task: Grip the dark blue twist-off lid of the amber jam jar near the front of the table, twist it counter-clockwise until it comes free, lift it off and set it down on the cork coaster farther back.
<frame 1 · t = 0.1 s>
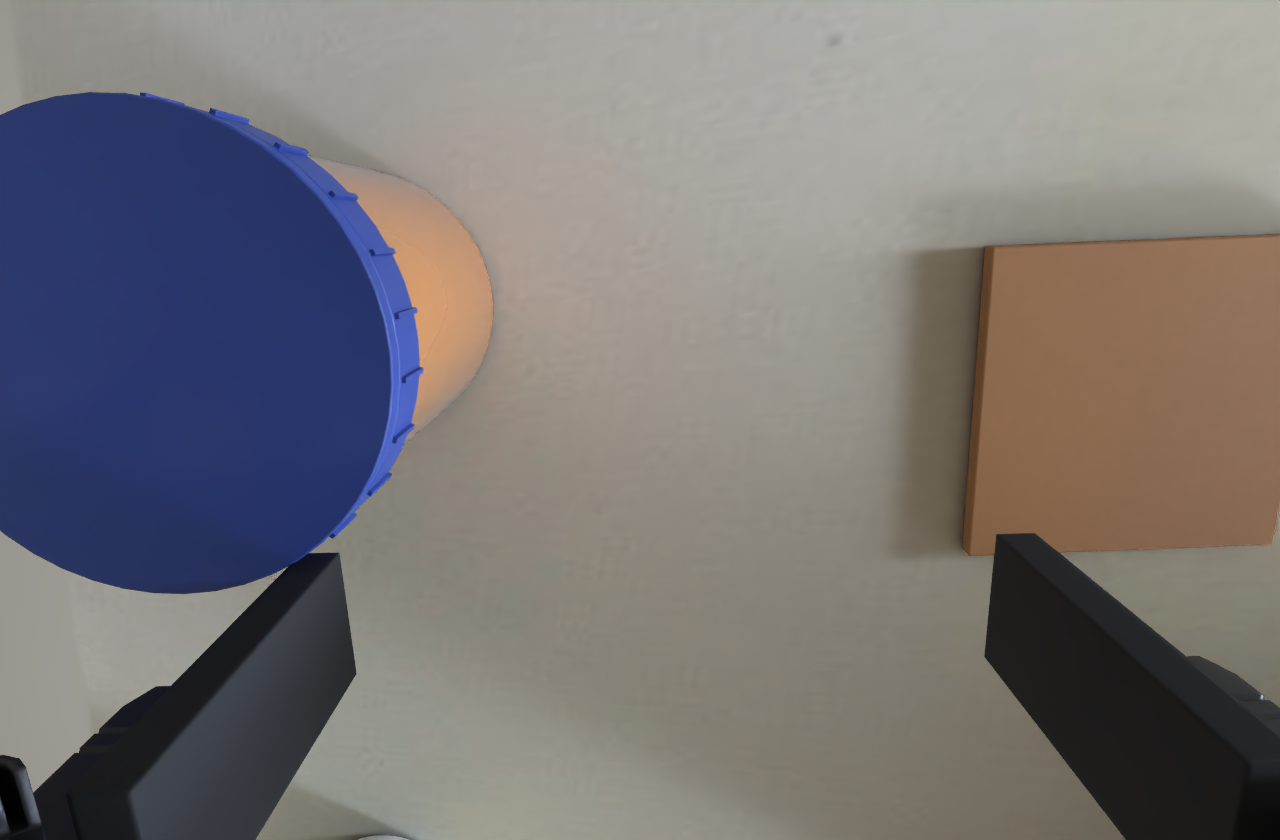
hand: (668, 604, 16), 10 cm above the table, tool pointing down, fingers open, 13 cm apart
coaster: (1128, 399, 25), on the table
lid: (154, 358, 14), point 11 cm above the table, screwed on, not yet turned, touching gripper
jar: (363, 304, 24), on the table
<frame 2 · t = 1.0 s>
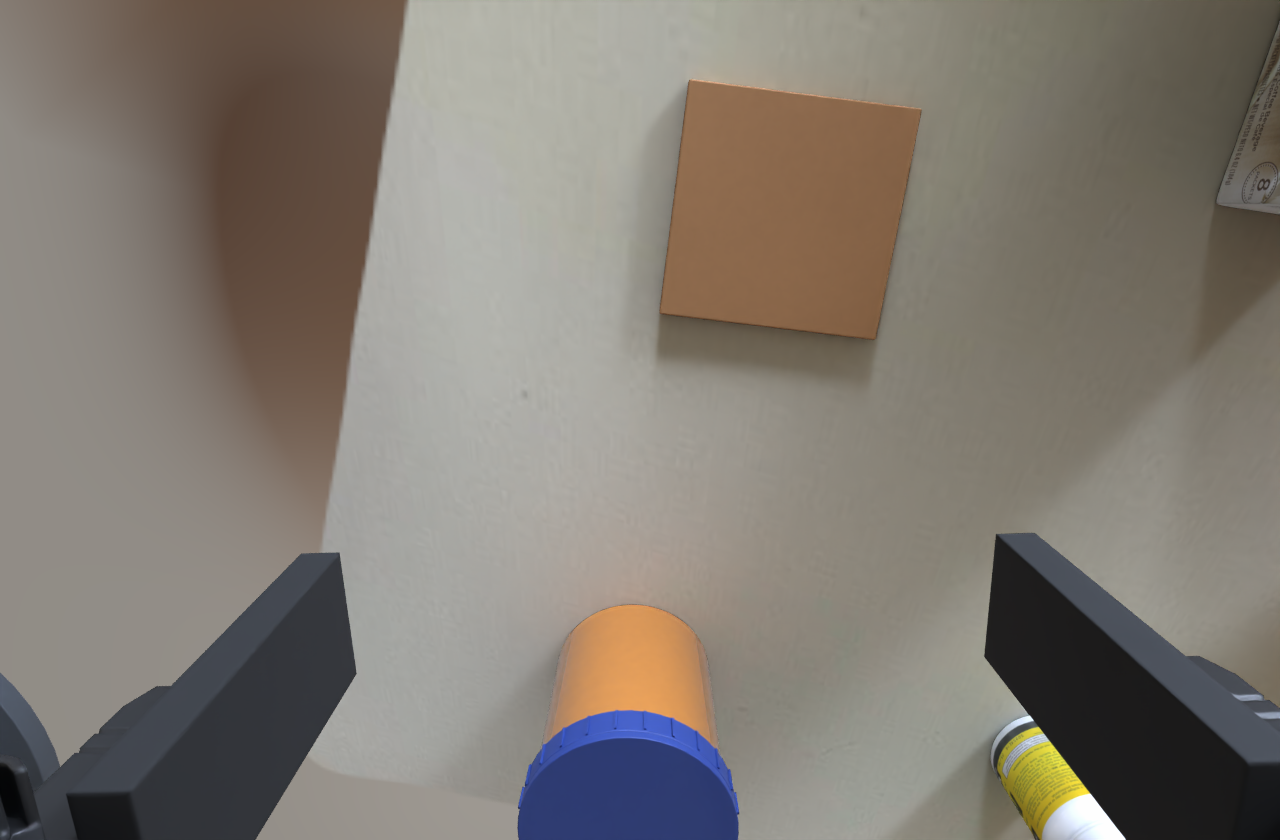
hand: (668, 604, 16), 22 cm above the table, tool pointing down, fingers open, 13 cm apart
coaster: (784, 214, 35), on the table
lid: (628, 824, 31), point 11 cm above the table, turned 6° so far, risen 0.0 cm, still on its thread
jar: (633, 672, 41), on the table
supplement bottle: (1030, 747, 42), on the table
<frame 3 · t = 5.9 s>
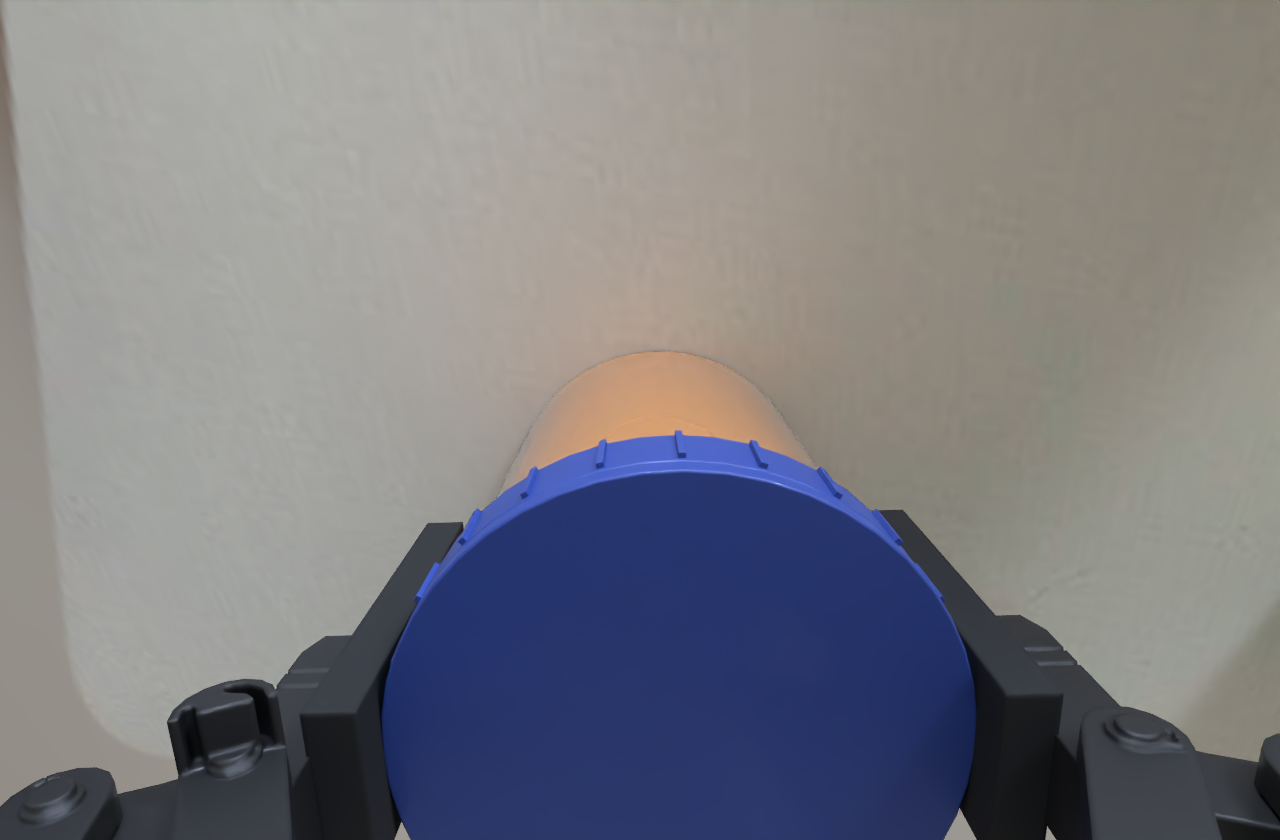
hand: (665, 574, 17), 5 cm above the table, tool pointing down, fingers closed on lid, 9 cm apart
lid: (677, 734, 12), point 11 cm above the table, turned 6° so far, risen 0.0 cm, still on its thread, touching gripper
jar: (659, 491, 22), on the table
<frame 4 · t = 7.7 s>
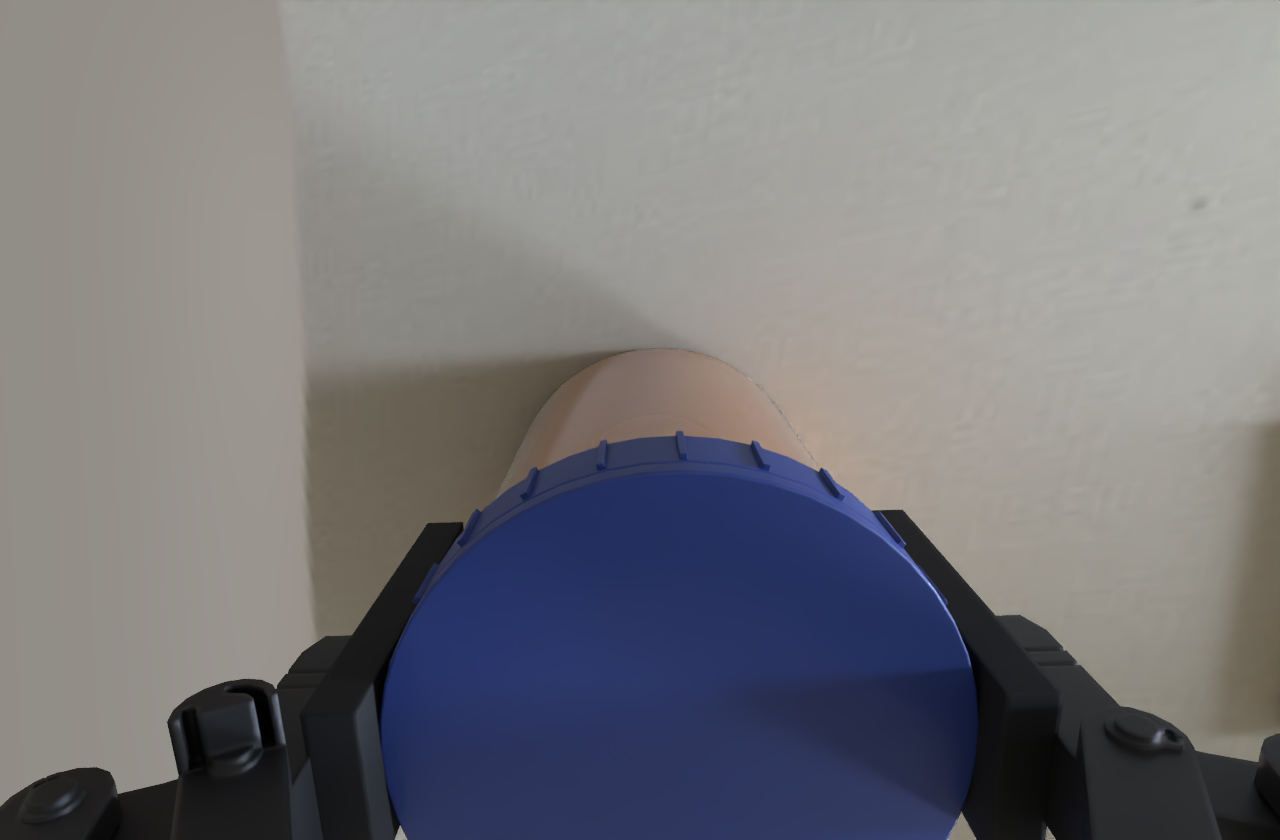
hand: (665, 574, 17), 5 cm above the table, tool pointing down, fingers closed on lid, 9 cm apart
lid: (678, 736, 12), point 11 cm above the table, turned 94° so far, risen 0.3 cm, still on its thread, touching gripper
jar: (659, 487, 22), on the table
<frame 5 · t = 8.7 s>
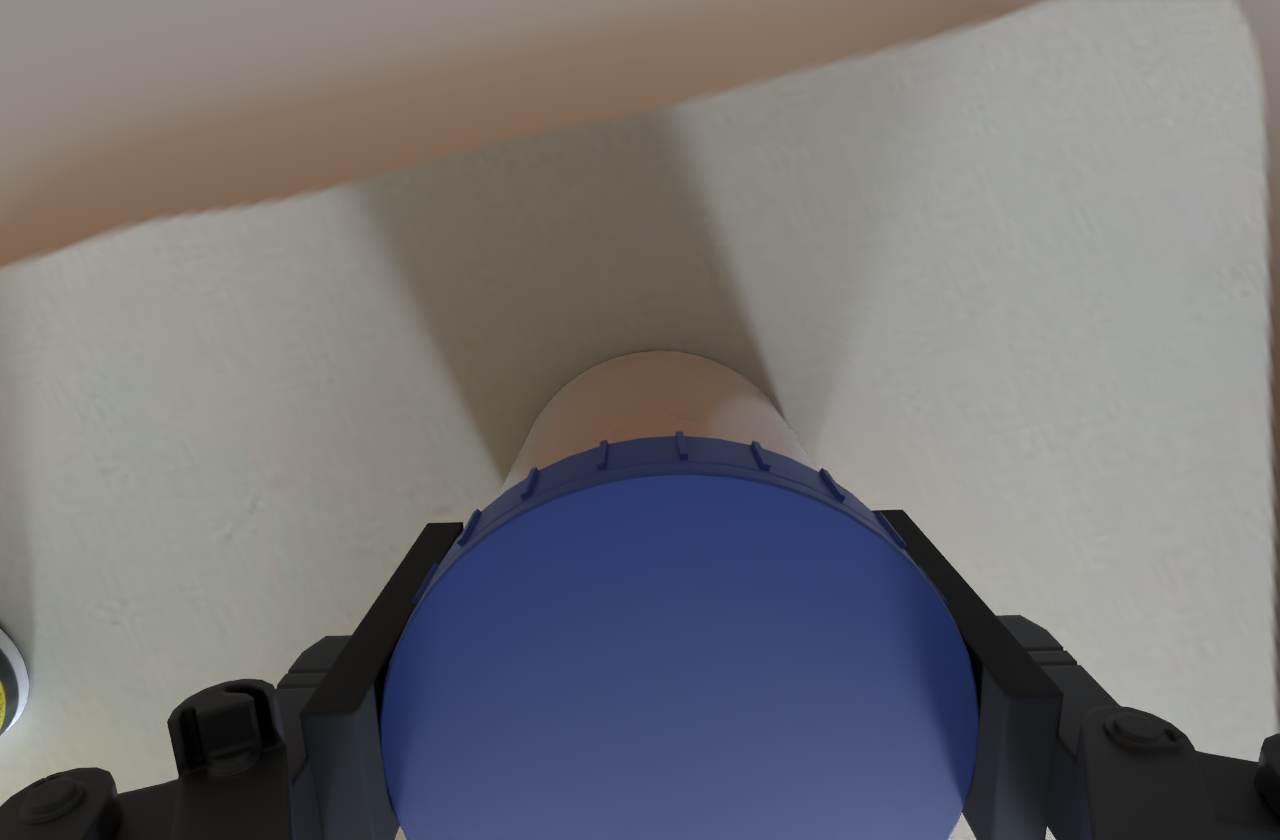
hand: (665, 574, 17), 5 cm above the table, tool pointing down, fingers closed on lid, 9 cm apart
lid: (678, 737, 12), point 11 cm above the table, off its thread, touching gripper
jar: (659, 489, 22), on the table
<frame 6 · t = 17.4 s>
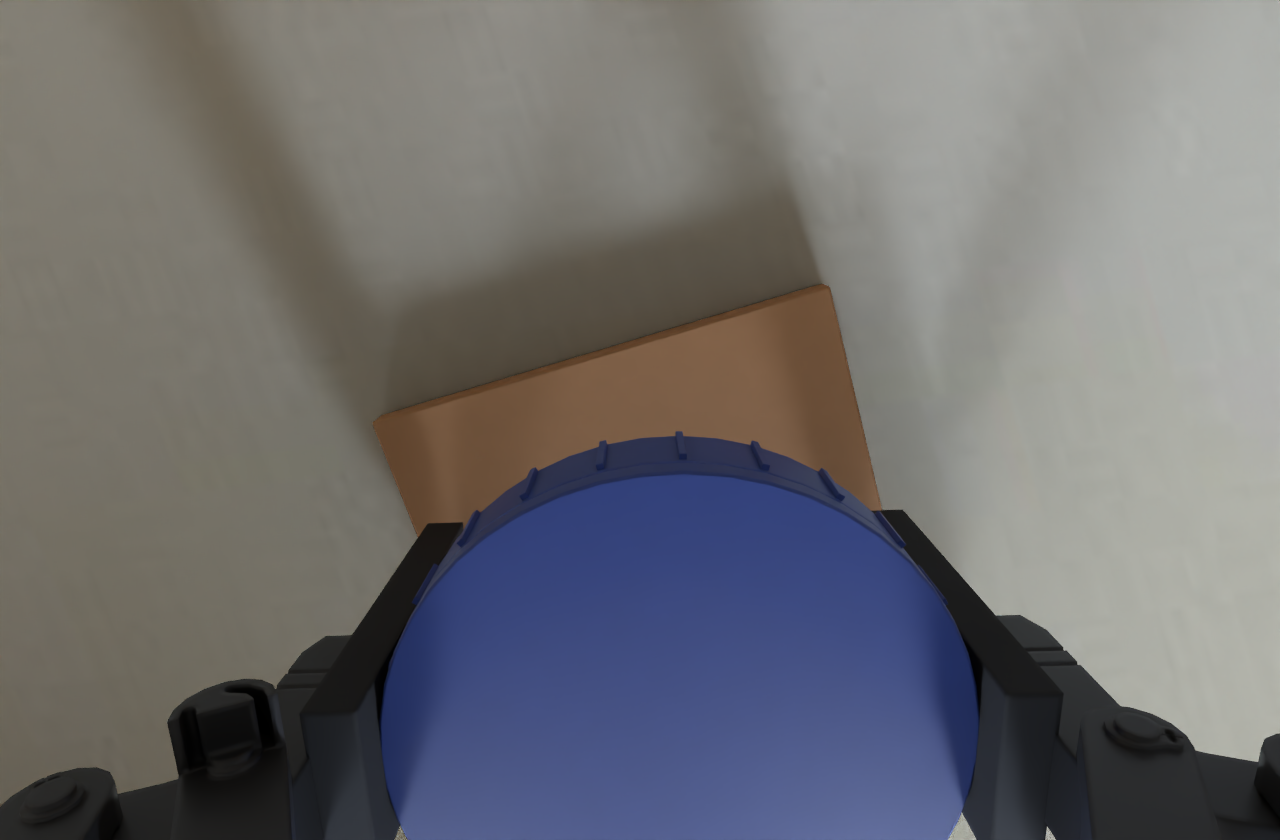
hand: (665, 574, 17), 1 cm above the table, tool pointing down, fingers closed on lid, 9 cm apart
coaster: (661, 555, 18), on the table
lid: (678, 737, 12), point 7 cm above the table, off its thread, touching gripper
when the fingers open (3 cm above the table, at t = 29.3 s): lid drops 6 cm, resting on coaster.
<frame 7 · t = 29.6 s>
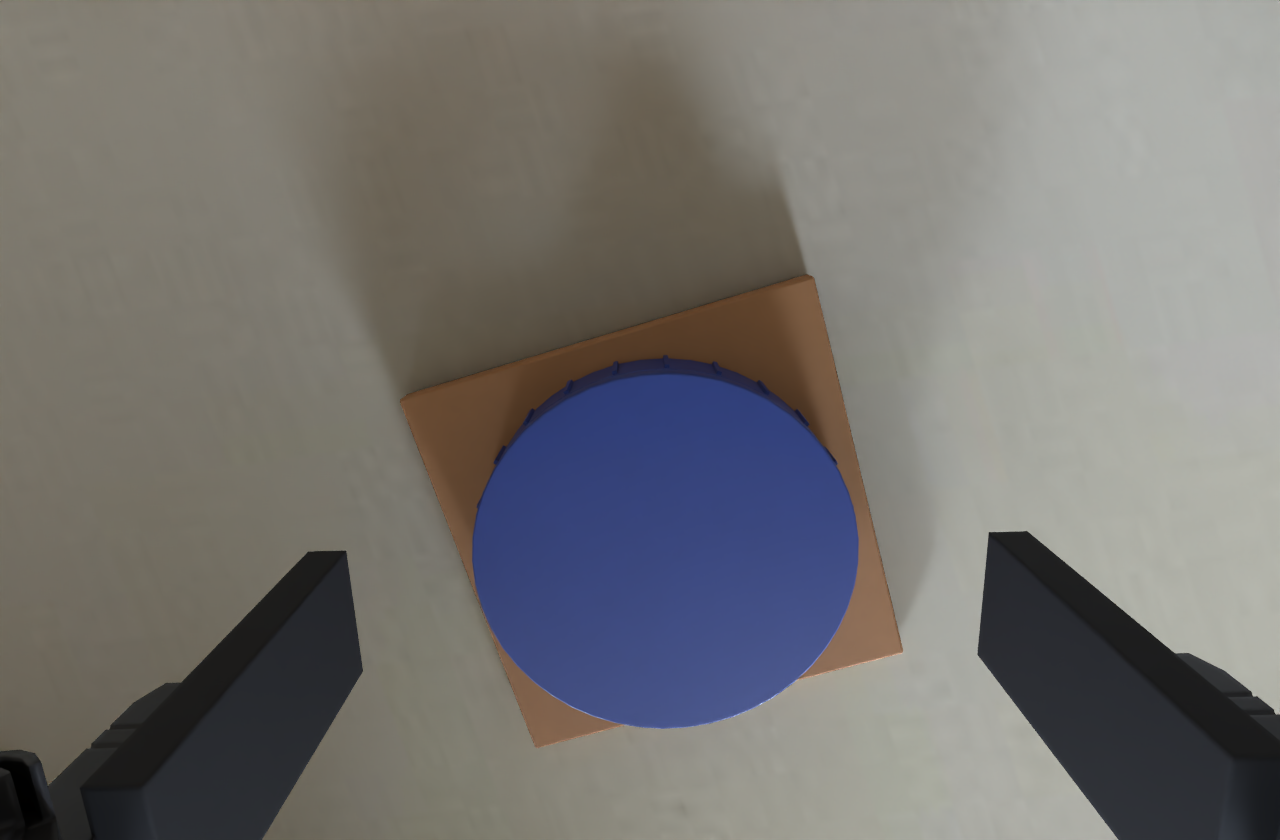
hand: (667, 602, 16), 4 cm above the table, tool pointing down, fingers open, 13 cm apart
coaster: (662, 523, 20), on the table
lid: (664, 554, 18), point 2 cm above the table, off its thread, touching coaster
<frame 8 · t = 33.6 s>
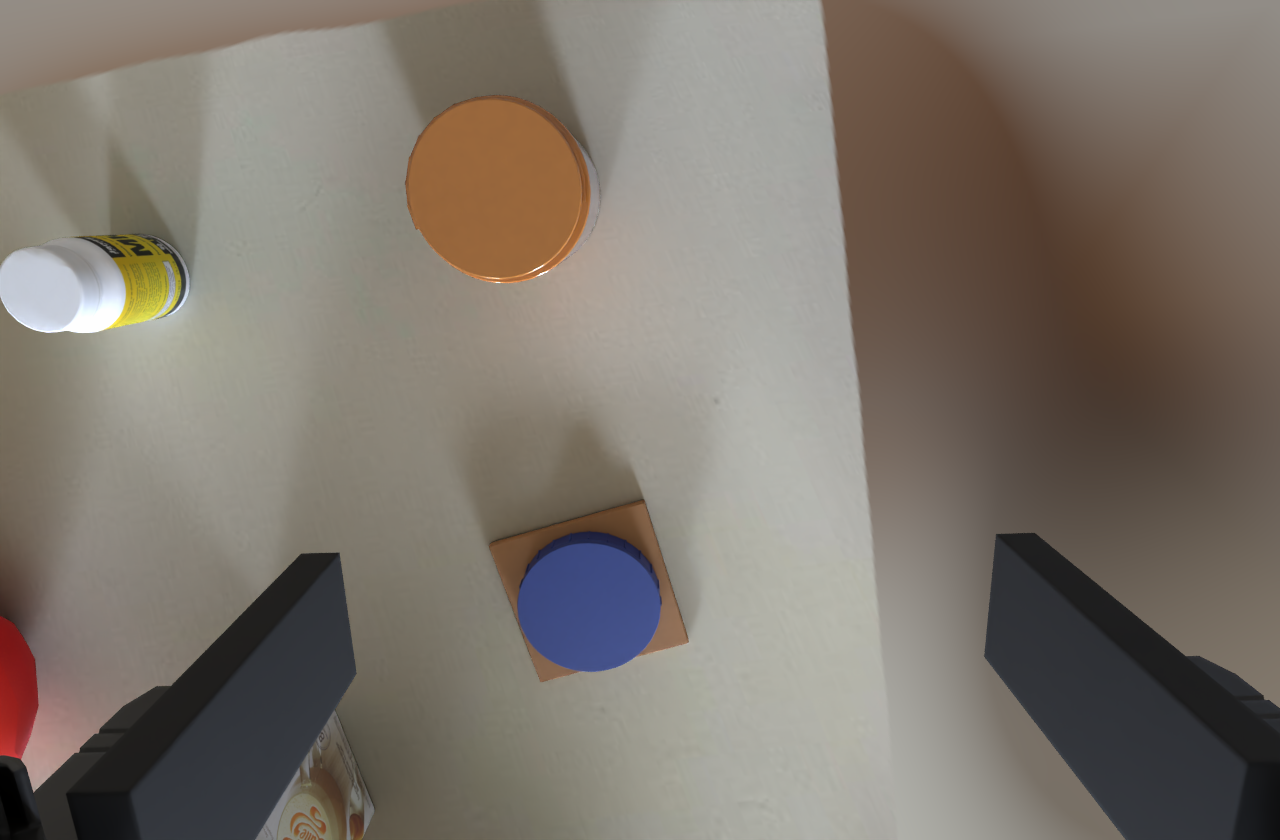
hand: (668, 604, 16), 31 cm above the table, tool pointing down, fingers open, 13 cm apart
coaster: (591, 591, 49), on the table
lid: (589, 605, 48), point 2 cm above the table, off its thread, touching coaster
jar: (528, 195, 43), on the table
supplement bottle: (152, 275, 44), on the table
coffee box: (314, 764, 53), on the table
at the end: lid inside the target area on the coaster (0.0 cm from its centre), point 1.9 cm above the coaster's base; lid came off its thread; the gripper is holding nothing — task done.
